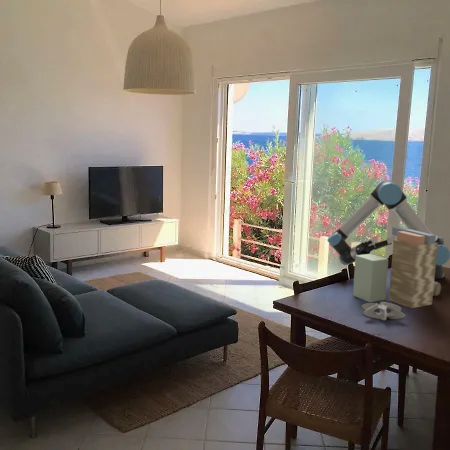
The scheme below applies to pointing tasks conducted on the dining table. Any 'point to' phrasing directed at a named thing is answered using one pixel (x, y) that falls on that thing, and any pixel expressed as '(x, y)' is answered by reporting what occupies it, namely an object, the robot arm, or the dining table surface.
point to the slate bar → (428, 237)
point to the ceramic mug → (436, 288)
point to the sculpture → (383, 306)
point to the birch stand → (412, 274)
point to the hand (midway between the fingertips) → (386, 238)
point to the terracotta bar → (410, 238)
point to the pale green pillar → (370, 277)
